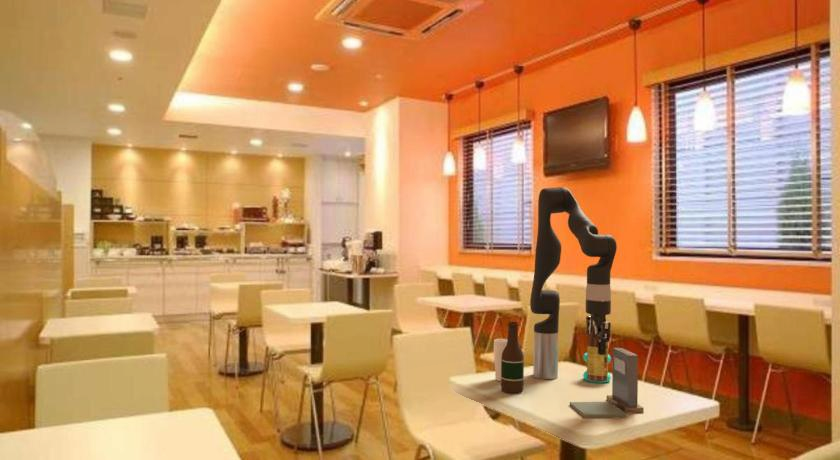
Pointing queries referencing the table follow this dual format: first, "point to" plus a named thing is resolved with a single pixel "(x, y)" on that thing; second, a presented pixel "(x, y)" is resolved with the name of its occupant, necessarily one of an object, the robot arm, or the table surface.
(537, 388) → the table surface
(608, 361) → the donuts
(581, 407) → the mat
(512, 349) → the beer bottle
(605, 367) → the sauce bottle
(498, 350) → the drinking glass
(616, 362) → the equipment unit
